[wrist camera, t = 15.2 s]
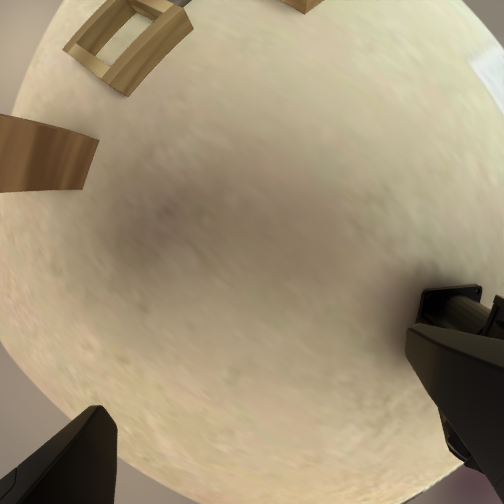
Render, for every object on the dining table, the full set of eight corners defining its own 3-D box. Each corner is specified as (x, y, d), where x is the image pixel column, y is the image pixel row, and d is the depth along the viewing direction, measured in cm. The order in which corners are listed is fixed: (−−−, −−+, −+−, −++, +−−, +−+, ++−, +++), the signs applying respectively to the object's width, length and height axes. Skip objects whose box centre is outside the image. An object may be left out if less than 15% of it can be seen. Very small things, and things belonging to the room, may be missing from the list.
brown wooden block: (99, 140, 18) (-56, 107, 5) (82, 189, 19) (-75, 200, 5) (66, 129, 18) (-73, 101, 5) (50, 174, 19) (-90, 178, 5)
